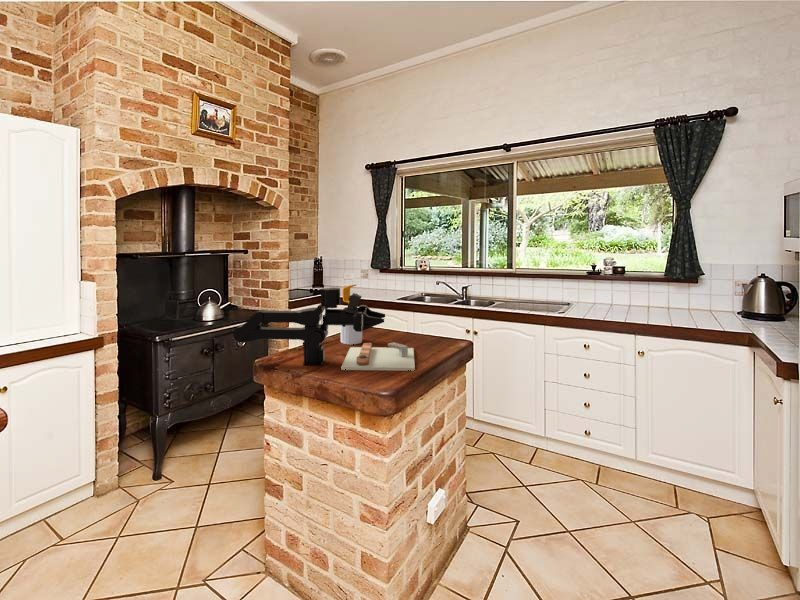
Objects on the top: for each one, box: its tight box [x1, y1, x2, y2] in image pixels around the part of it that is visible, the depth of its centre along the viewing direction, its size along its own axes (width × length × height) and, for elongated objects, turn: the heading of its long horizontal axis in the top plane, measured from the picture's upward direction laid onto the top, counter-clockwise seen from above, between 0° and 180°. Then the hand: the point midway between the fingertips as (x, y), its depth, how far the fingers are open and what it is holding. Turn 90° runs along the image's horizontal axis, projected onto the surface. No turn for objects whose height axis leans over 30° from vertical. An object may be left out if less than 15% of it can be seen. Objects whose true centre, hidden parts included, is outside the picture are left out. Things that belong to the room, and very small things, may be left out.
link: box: [357, 342, 373, 365], centre depth 165 cm, size 22×4×2 cm, turn 179°
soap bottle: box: [339, 284, 363, 346], centre depth 189 cm, size 9×9×25 cm
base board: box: [340, 346, 416, 372], centre depth 166 cm, size 25×26×1 cm
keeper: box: [387, 341, 409, 357], centre depth 168 cm, size 3×8×5 cm, turn 44°
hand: (384, 318), depth 158 cm, fingers open, 9 cm apart
